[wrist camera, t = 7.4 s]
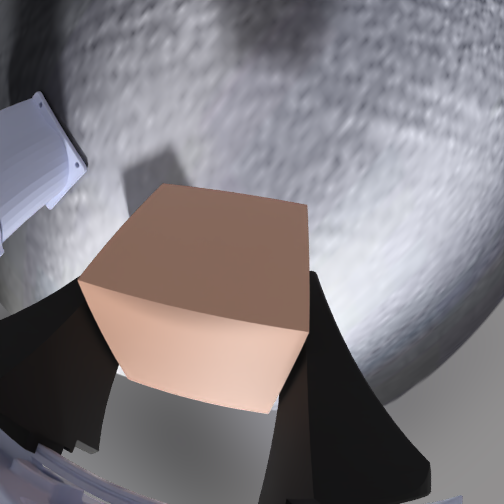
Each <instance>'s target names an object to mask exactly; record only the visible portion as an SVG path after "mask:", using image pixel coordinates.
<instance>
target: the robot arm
mask: <svg viewBox="0 0 504 504" xmlns="http://www.w3.org/2000/svg"><path fill="white" fill-rule="evenodd" d="M78 163H79V165H78ZM86 171H87V167H86V165H85V163H84V162H83V160H82V159H81V157H80V156H79V154H78V153H77V151H76V150H75V148H74V146H73V145H72V143H71V142H70V140H69V138H68V137H67V135H66V134H65V132H64V130H63V129H62V127H61V125H60V124H59V122H58V120H57V119H56V117H55V115H54V114H53V112H52V110H51V108H50V107H49V105H48V103H47V101H46V100H45V98H44V96H43V94H42V92H41V91H38V92H36V93H35V94H34V96H33V97H32V98H31V99H28V100H25V101H23V102H20V103H17V104H15V105H12V106H10V107H7V108H5V109H3V110H0V256H1V255H2V254H3V253H4V250H3V247H2V243H3V242H4V241H5V240H6V239H7V238H8V237H9V236H10V235H11V234H12V233H13V232H14V231H15V230H16V229H17V228H18V227H20V226H21V225H22V224H23V223H24V222H25V221H26V220H27V219H28V218H30V217H31V216H32V215H33V214H34V213H35V212H37V211H38V210H39V209H40V208H41V207H42V206H44V205H46V206H47V208H48V209H52V208H53V207H54V206H55V205H56V204H57V203H58V202H59V200H60V199H61V198H62V197H63V196H64V195H65V194H66V193H67V191H68V190H69V189H70V188H71V187H72V186H73V185H74V184H75V183H76V182H77V181H78V180H79V179H80V178H81V177H82V176H83V175H84V174H85V173H86ZM79 277H80V276H79ZM79 277H78V278H79ZM78 278H76V279H74V280H73V281H72V282H70V283H69V284H67V285H66V286H64V287H63V288H61V289H59V290H58V291H56V292H54V293H53V294H51V295H49V296H48V297H46V298H44V299H42V300H41V301H39V302H37V303H35V304H33V305H31V306H29V307H27V308H25V309H23V310H21V311H19V312H17V313H15V314H13V315H11V316H9V317H6V318H4V319H2V320H0V504H106V503H103V502H101V501H99V500H97V499H94V498H92V497H90V496H88V495H86V494H84V490H85V491H87V492H89V493H91V494H92V495H94V496H96V497H98V498H100V499H102V500H104V501H107V502H109V503H111V504H167V503H163V502H161V501H158V500H155V499H152V498H149V497H146V496H143V495H140V494H138V493H135V492H133V491H130V490H128V489H125V488H123V487H120V486H118V485H116V484H114V483H112V482H109V481H107V480H105V479H103V478H101V477H99V476H97V475H95V474H93V473H91V472H89V471H87V470H85V469H84V468H82V467H80V466H78V465H76V464H74V463H73V462H71V461H69V460H68V459H66V458H64V457H63V456H61V454H62V451H63V448H64V449H65V450H67V451H69V452H70V453H72V452H73V450H74V447H77V448H79V449H81V450H84V451H86V452H88V453H90V454H93V453H96V452H98V451H99V443H100V436H101V429H102V423H103V419H104V414H105V409H106V405H107V401H108V397H109V394H110V390H111V387H112V383H113V381H114V378H115V374H116V372H117V369H118V366H119V363H118V361H117V360H116V358H115V356H114V354H113V353H112V351H111V349H110V347H109V345H108V344H107V342H106V340H105V338H104V336H103V334H102V332H101V330H100V328H99V326H98V324H97V322H96V320H95V318H94V316H93V314H92V312H91V310H90V308H89V306H88V303H87V301H86V299H85V297H84V294H83V292H82V290H81V287H80V285H79V283H78ZM309 285H310V306H309V333H308V336H307V338H306V340H305V342H304V344H303V347H302V349H301V351H300V353H299V355H298V357H297V359H296V361H295V363H294V365H293V367H292V369H291V371H290V373H289V375H288V377H287V379H286V381H285V383H284V385H283V387H282V389H281V391H280V393H279V403H278V410H277V416H276V423H275V428H274V434H273V439H272V445H271V450H270V455H269V460H268V465H267V469H266V473H265V478H264V482H263V486H262V490H261V494H260V498H259V502H258V504H400V503H404V502H408V501H412V500H416V499H419V498H422V497H425V496H427V495H429V494H430V492H431V469H430V462H429V461H428V460H427V459H426V458H425V457H424V456H423V455H422V454H421V453H420V452H419V451H418V450H417V448H416V447H415V446H414V445H413V444H412V443H411V442H410V441H409V440H408V439H407V437H406V436H405V435H404V433H403V432H402V431H401V430H400V428H399V427H398V426H397V425H396V423H395V422H394V421H393V420H392V418H391V417H390V415H389V414H388V413H387V411H386V410H385V408H384V407H383V405H382V404H381V403H380V401H379V400H378V398H377V397H376V396H375V394H374V392H373V391H372V389H371V388H370V386H369V384H368V383H367V381H366V380H365V378H364V376H363V375H362V373H361V371H360V369H359V368H358V366H357V364H356V362H355V361H354V359H353V357H352V355H351V353H350V351H349V349H348V347H347V345H346V343H345V341H344V339H343V337H342V335H341V333H340V331H339V328H338V326H337V324H336V322H335V319H334V317H333V315H332V313H331V310H330V308H329V305H328V303H327V300H326V298H325V295H324V293H323V290H322V287H321V285H320V282H319V279H318V276H317V274H316V272H314V271H309ZM42 464H43V465H44V466H46V467H48V468H49V469H47V468H45V467H43V465H42ZM462 502H463V496H461V495H460V496H456V497H453V498H448V499H446V500H442V501H437V502H432V503H425V504H462Z"/></svg>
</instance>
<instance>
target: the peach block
mask: <svg viewBox="0 0 504 504" xmlns="http://www.w3.org/2000/svg"><path fill="white" fill-rule="evenodd" d="M78 283H79V285H80V287H81V290H82V292H83V294H84V297H85V299H86V301H87V303H88V306H89V308H90V310H91V312H92V314H93V316H94V318H95V320H96V322H97V324H98V326H99V328H100V330H101V332H102V334H103V336H104V338H105V340H106V342H107V344H108V345H109V347H110V349H111V351H112V353H113V354H114V356H115V358H116V360H117V361H118V363H119V365H120V366H121V368H122V370H123V371H124V373H125V375H126V376H127V378H128V379H129V380H132V381H135V382H137V383H140V384H143V385H146V386H149V387H152V388H155V389H159V390H162V391H166V392H169V393H172V394H176V395H179V396H183V397H187V398H190V399H194V400H199V401H203V402H207V403H211V404H216V405H220V406H225V407H230V408H236V409H241V410H247V411H253V412H260V413H266V414H268V413H269V412H270V410H271V408H272V406H273V404H274V402H275V401H276V399H277V397H278V395H279V393H280V391H281V389H282V387H283V385H284V383H285V381H286V379H287V377H288V375H289V373H290V371H291V369H292V367H293V365H294V363H295V361H296V359H297V357H298V355H299V353H300V351H301V349H302V347H303V344H304V342H305V340H306V338H307V336H308V333H309V306H310V285H309V235H308V210H307V205H305V204H299V203H294V202H288V201H283V200H277V199H271V198H265V197H259V196H253V195H247V194H240V193H234V192H227V191H220V190H213V189H205V188H198V187H190V186H182V185H173V184H164V183H163V184H162V185H161V186H160V187H159V188H158V189H157V190H156V191H155V192H154V193H153V194H152V195H151V196H150V197H149V198H148V199H147V200H146V201H145V202H144V203H143V204H142V205H141V206H140V207H139V208H138V209H137V210H136V211H135V212H134V213H133V214H132V216H131V217H130V218H129V219H128V220H127V221H126V222H125V223H124V224H123V225H122V227H121V228H120V229H119V230H118V231H117V232H116V233H115V234H114V236H113V237H112V238H111V239H110V240H109V241H108V243H107V244H106V245H105V246H104V247H103V248H102V250H101V251H100V252H99V253H98V254H97V256H96V257H95V258H94V259H93V261H92V262H91V263H90V264H89V266H88V267H87V268H86V269H85V271H84V272H83V273H82V274H81V276H80V277H79V278H78Z"/></svg>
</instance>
